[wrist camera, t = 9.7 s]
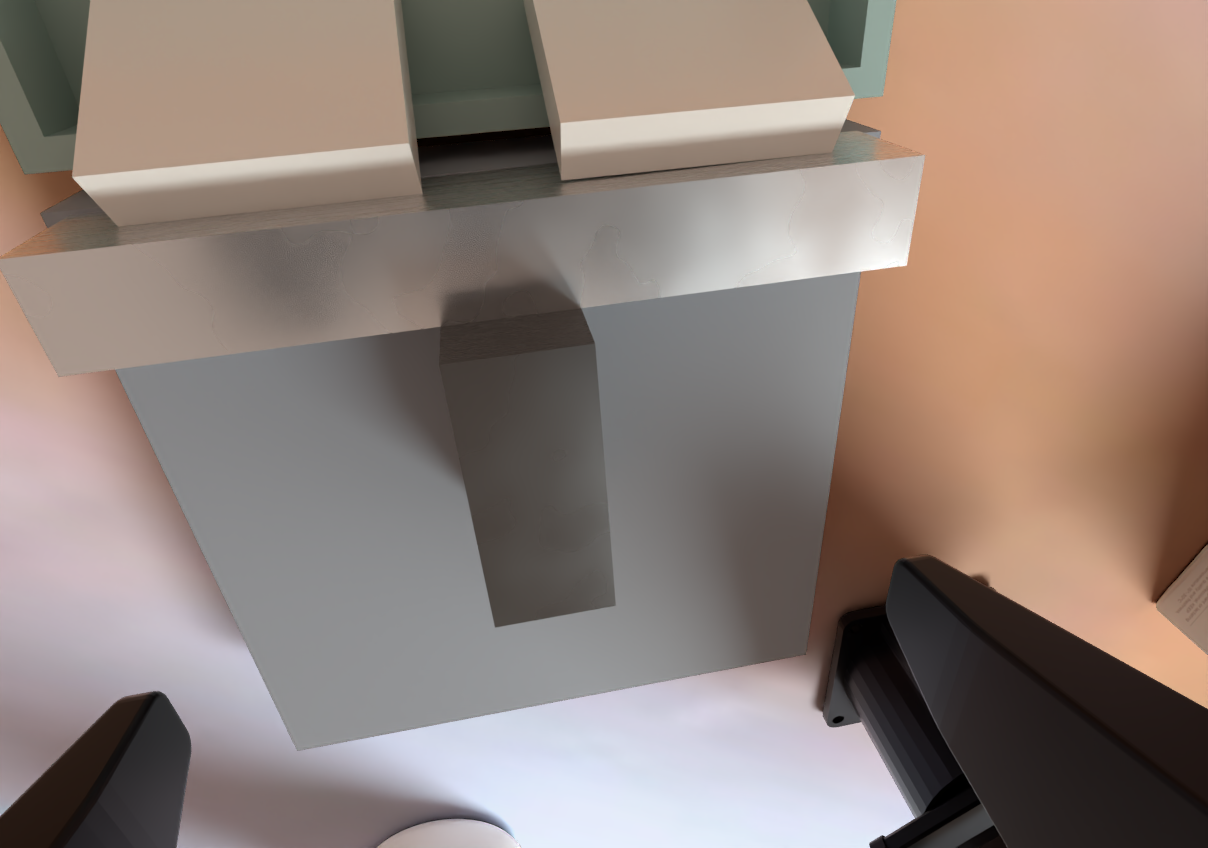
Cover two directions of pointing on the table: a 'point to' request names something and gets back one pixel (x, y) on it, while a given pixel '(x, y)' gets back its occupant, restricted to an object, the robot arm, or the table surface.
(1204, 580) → the supplement box
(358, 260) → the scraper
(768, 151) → the tile
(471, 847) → the water bottle
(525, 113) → the bin
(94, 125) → the tile
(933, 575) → the robot arm
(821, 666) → the table surface
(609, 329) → the board
